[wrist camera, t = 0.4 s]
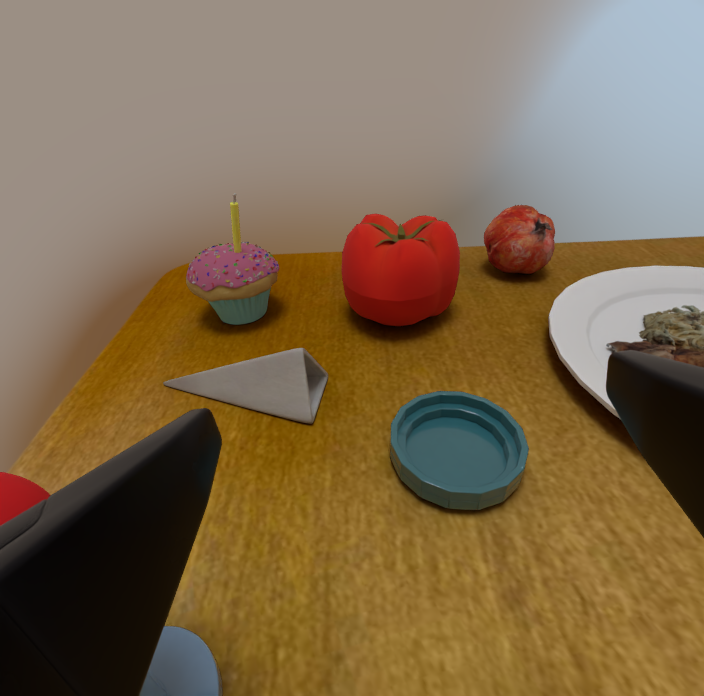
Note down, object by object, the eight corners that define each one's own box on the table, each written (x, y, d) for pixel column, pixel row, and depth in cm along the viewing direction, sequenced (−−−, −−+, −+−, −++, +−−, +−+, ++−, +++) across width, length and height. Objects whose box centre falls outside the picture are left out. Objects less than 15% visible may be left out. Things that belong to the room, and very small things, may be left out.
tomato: (326, 333, 38) (317, 239, 33) (369, 278, 47) (367, 197, 42) (440, 354, 35) (451, 253, 29) (463, 290, 44) (474, 205, 38)
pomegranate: (463, 276, 50) (498, 250, 40) (474, 220, 50) (512, 180, 40) (521, 290, 50) (570, 268, 40) (532, 234, 51) (582, 198, 41)
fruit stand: (185, 851, 13) (34, 800, 8) (18, 825, 14) (-241, 761, 8) (242, 638, 18) (177, 508, 12) (116, 626, 19) (-3, 497, 13)
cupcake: (298, 299, 44) (282, 181, 37) (256, 343, 37) (227, 210, 30) (231, 289, 46) (204, 177, 39) (180, 328, 40) (137, 203, 33)
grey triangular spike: (127, 433, 28) (303, 413, 26) (137, 370, 30) (302, 345, 28) (179, 446, 34) (330, 430, 31) (185, 392, 36) (328, 372, 33)
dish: (536, 519, 22) (544, 496, 21) (389, 509, 23) (389, 488, 22) (505, 414, 29) (511, 393, 28) (391, 410, 30) (391, 389, 28)
